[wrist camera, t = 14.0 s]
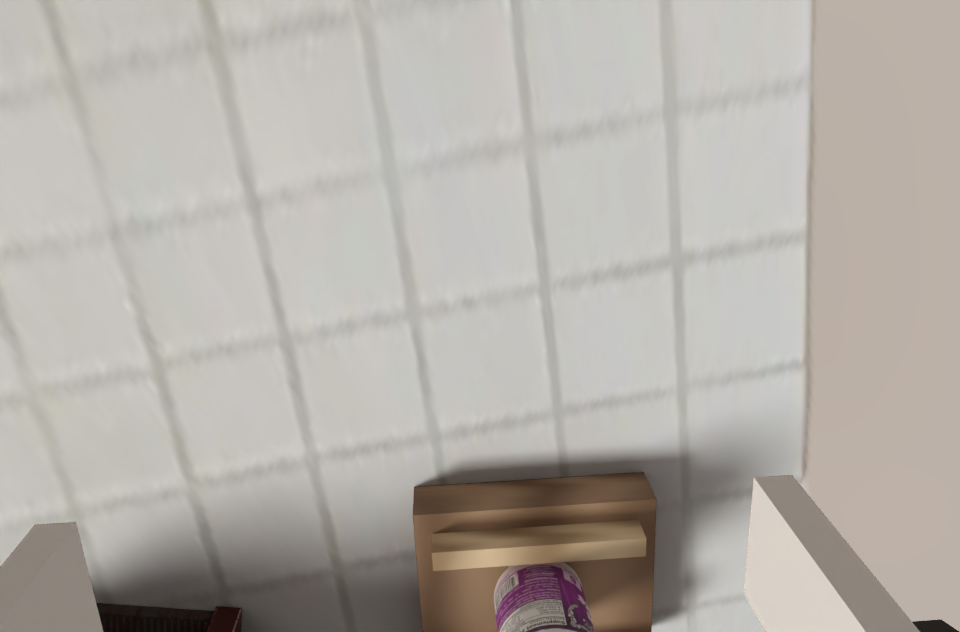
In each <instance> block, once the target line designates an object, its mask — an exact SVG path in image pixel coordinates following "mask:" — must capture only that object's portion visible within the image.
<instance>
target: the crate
mask: <svg viewBox="0 0 960 632" xmlns="http://www.w3.org/2000/svg"><path fill="white" fill-rule="evenodd" d="M96 604H97V608H98V612H99V616H100V620H101V624H102V628H103V632H241V617H242V608H235V607H221V606H217V607H216V609H215V611H202V610H188V609H173V608H159V607H145V606H130V605H116V604H101V603H96Z"/></svg>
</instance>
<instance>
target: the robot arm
mask: <svg viewBox="0 0 960 632" xmlns="http://www.w3.org/2000/svg"><path fill="white" fill-rule="evenodd" d="M744 594H745V596H746V598H747V599H748V601H749V603H750V605H751V606H752V608H753V610H754V612H755V614H756V615H757V617H758V619H759V621H760V623H761V624H762V626H763V628H764V630H765V632H959V631H957V630H956V629H954V628H953V627H951V626H950V625H948V624H947V623H945V622H944V621H942V620H930V621H917V622H911V620H910V619H909V618H908V616H907V615H906V614H905V613H904V612H903V610H902V609H901V608H900V607H899V606H898V604H897V603H896V602H895V600H894V599H893V598H892V597H891V596H890V594H889V593H888V592H887V591H886V590H885V588H884V587H883V586H882V585H881V583H880V582H879V581H878V580H877V578H876V577H875V576H874V575H873V574H872V572H871V571H870V570H869V569H868V568H867V566H866V565H865V564H864V562H863V561H862V560H861V559H860V558H859V556H857V554H856V553H855V552H854V550H853V549H852V548H851V547H850V545H849V544H848V543H847V542H846V540H845V539H844V538H843V537H842V536H841V534H840V533H839V532H838V531H837V529H836V528H835V527H834V526H833V525H832V523H831V522H830V521H829V520H828V518H827V517H826V516H825V515H824V513H823V512H822V511H821V510H820V509H819V507H818V506H817V505H816V504H815V502H814V501H813V500H812V499H811V498H810V496H809V495H808V494H807V493H806V491H805V490H804V489H803V488H802V487H801V485H800V484H799V483H798V482H797V480H796V479H795V478H794V477H793V475H784V476H769V477H754V482H753V493H752V504H751V516H750V527H749V538H748V550H747V561H746V572H745V583H744ZM0 632H103V628H102V624H101V620H100V616H99V612H98V608H97V604H96V600H95V596H94V592H93V588H92V584H91V580H90V576H89V572H88V568H87V564H86V560H85V556H84V552H83V548H82V544H81V540H80V536H79V532H78V528H77V524H76V522H69V523H53V524H38V525H34V526H33V528H32V529H31V530H30V531H29V533H28V534H27V535H26V536H25V538H24V539H23V540H22V541H21V542H20V544H19V545H18V546H17V547H16V549H15V550H14V551H13V552H12V553H11V555H10V556H9V557H8V558H7V560H6V561H5V562H4V563H3V565H2V566H1V567H0Z"/></svg>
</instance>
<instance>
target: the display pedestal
mask: <svg viewBox="0 0 960 632" xmlns="http://www.w3.org/2000/svg"><path fill="white" fill-rule="evenodd" d="M413 522H414V535H415V547H416V559H417V572H418V584H419V596H420V609H421V621H422V632H497V624H496V615H495V606H494V590H495V587H496V584H497V581H498V579H499V578H500V576H501V575H502V574H503V572H504V571H505V570H506V569H507V568H508V567H509V566H514V565H528V564H543V563H557V562H564V563H566V564H567V565H569V566H570V567H571V568H572V569H573V570H574V571H575V572H576V574H577V575H578V577H579V579H580V582H581V585H582V588H583V591H584V594H585V598H586V602H587V605H588V609H589V612H590V615H591V619H592V623H593V626H594V630H595V632H651V625H652V600H653V575H654V549H655V524H656V497H655V495H654V493H653V491H652V489H651V487H650V485H649V483H648V481H647V479H646V477H645V475H644V472H640V473H625V474H610V475H594V476H579V477H563V478H548V479H533V480H517V481H502V482H486V483H471V484H455V485H440V486H425V487H414V503H413Z"/></svg>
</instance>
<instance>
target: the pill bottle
mask: <svg viewBox="0 0 960 632" xmlns="http://www.w3.org/2000/svg"><path fill="white" fill-rule="evenodd" d="M494 606H495V615H496V624H497V632H595V630H594V626H593V623H592V619H591V615H590V612H589V609H588V605H587V602H586V598H585V594H584V591H583V588H582V585H581V582H580V579H579V577H578V575H577V574H576V572H575V571H574V570H573V569H572V568H571V567H570V566H569V565H567V564H566V563H564V562H557V563H543V564H528V565H514V566H509V567H508V568H507V569H506V570H505V571H504V572H503V574H502V575H501V576H500V578H499V579H498V581H497V584H496V587H495V590H494Z"/></svg>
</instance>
